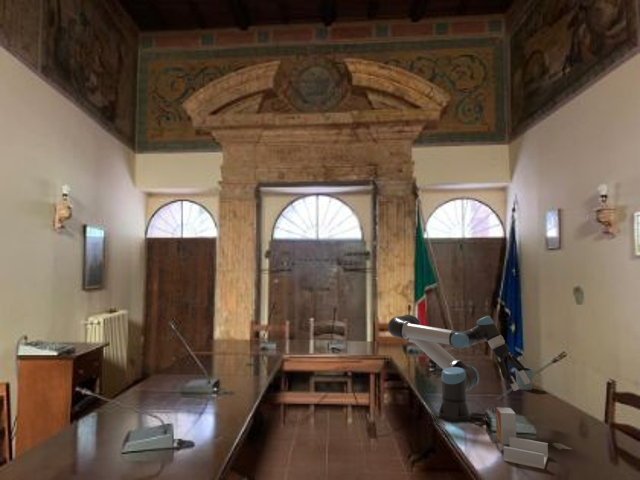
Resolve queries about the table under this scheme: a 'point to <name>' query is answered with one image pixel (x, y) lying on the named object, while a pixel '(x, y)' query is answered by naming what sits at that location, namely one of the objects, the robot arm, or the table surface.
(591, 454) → the table surface
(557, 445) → the map
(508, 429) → the small box
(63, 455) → the table surface
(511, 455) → the end holder
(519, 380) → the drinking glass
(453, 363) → the robot arm
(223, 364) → the table surface
